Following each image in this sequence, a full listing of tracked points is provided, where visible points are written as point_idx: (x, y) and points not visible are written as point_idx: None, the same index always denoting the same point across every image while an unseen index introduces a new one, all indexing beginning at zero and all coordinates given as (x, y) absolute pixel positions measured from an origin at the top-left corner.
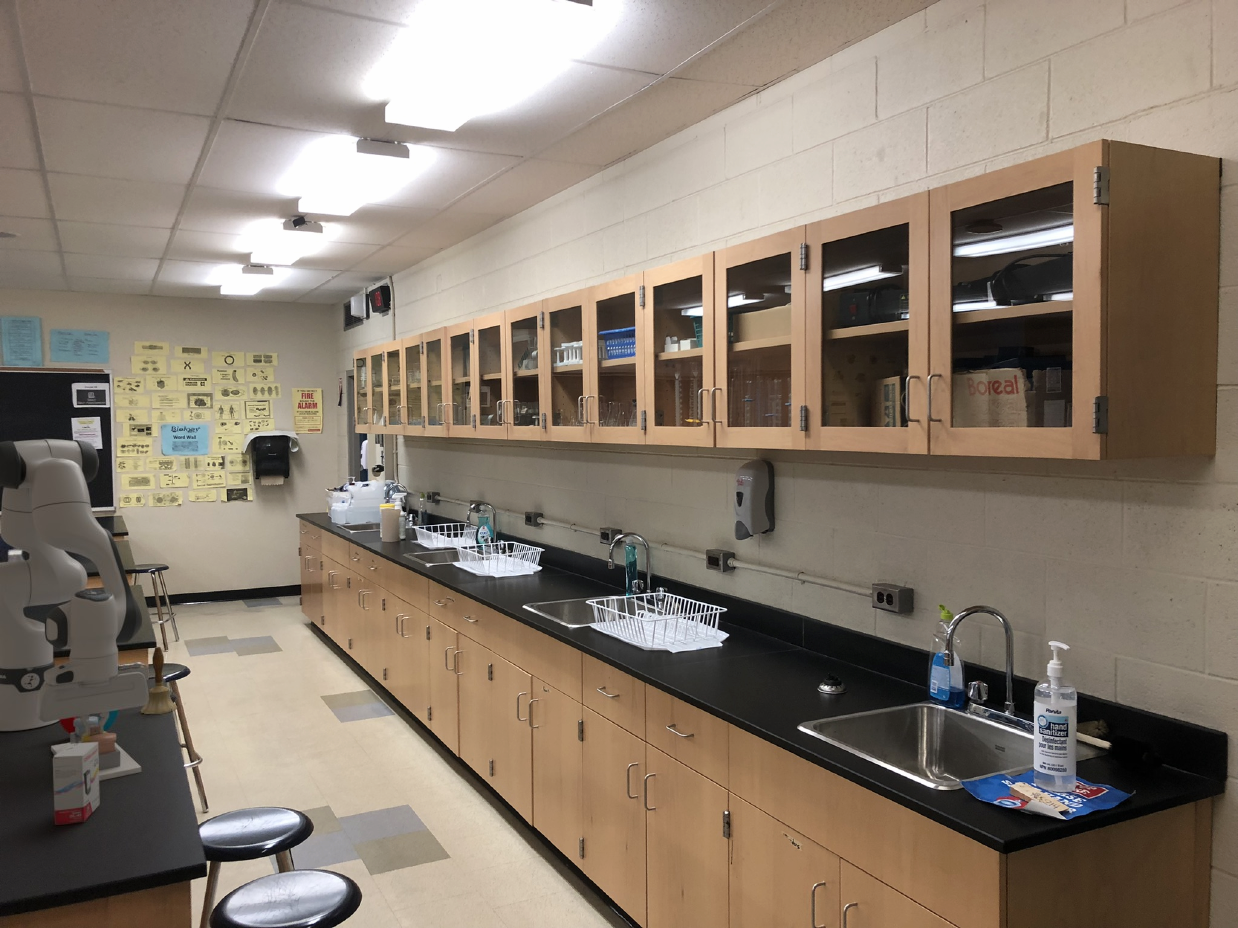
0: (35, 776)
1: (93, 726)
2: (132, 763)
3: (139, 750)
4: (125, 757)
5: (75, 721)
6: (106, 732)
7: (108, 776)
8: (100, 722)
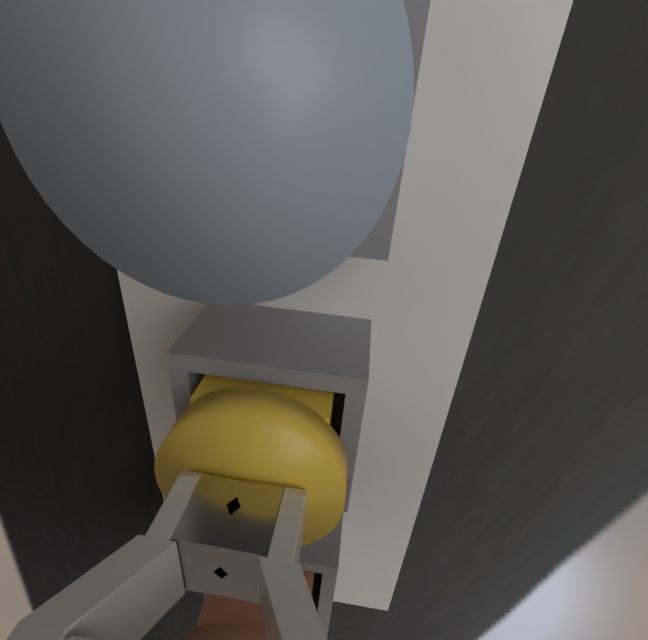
0: (34, 375)
1: (210, 578)
2: (382, 568)
3: (559, 361)
4: (399, 495)
5: (23, 122)
6: (337, 515)
7: None
8: (267, 616)
